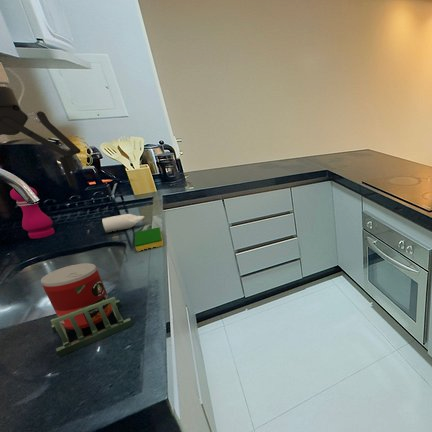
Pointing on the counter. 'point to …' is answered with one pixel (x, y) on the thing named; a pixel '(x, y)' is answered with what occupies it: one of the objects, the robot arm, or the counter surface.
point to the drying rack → (95, 334)
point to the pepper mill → (33, 218)
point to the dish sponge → (148, 239)
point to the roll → (120, 222)
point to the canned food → (76, 293)
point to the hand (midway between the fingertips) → (29, 192)
